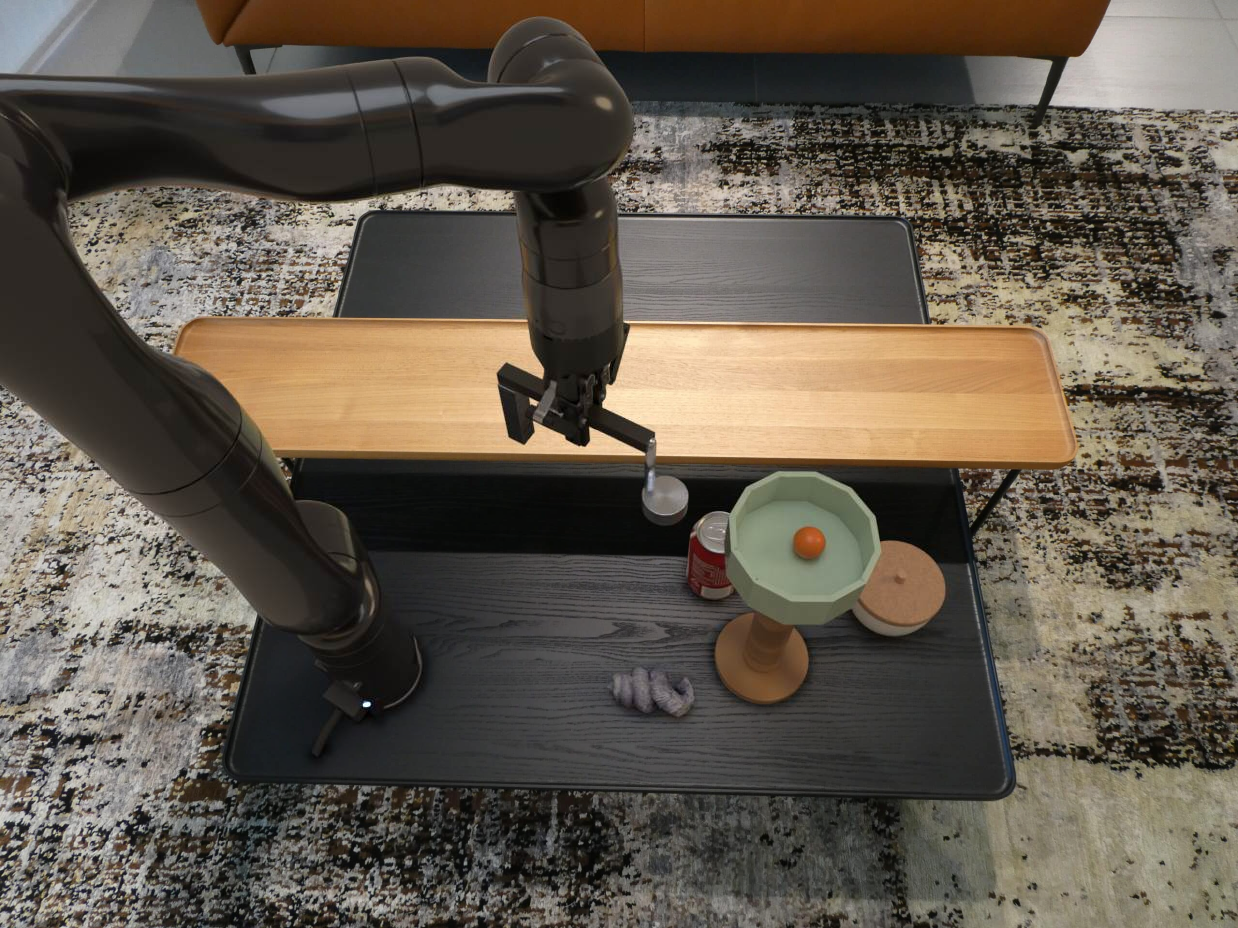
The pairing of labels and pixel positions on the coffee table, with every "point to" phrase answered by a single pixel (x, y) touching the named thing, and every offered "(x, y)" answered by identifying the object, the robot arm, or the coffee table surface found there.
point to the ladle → (659, 494)
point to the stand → (761, 658)
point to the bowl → (773, 566)
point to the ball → (809, 542)
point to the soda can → (709, 557)
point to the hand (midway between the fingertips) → (584, 432)
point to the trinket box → (900, 591)
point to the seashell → (652, 691)
